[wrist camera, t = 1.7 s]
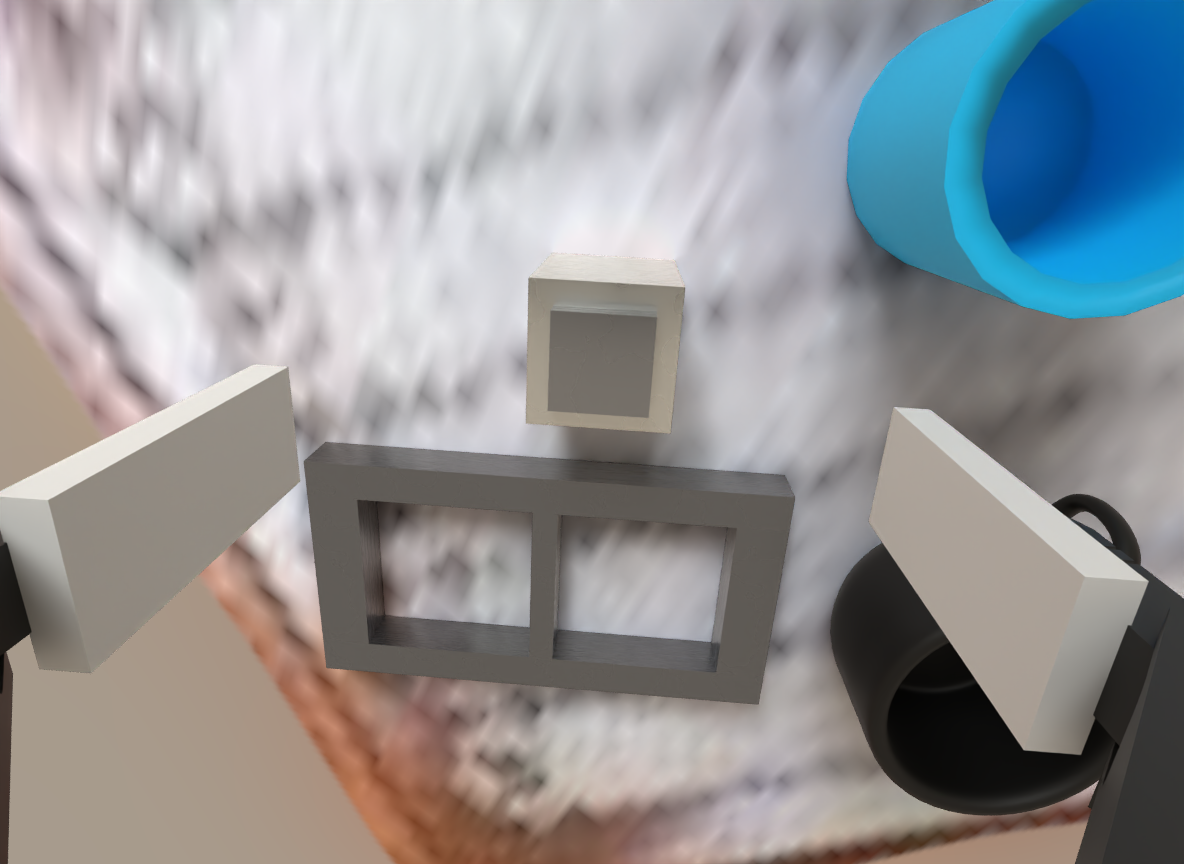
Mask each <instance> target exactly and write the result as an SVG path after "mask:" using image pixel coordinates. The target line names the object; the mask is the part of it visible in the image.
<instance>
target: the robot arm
mask: <svg viewBox="0 0 1184 864" xmlns="http://www.w3.org/2000/svg"><path fill="white" fill-rule="evenodd" d="M299 482H300V474H299V465H298V455H297V446H296V436H295V427H294V417H293V408H292V398H291V389H290V379H289V370H288V367H284V366H269V365H252V366H250V367H248V368H246V369H244V370H242V371H240V372H238V373H236V374H234V375H232V376H230V377H228V378H226V379H224V380H222V381H220V382H218V383H216V384H214V385H212V386H210V387H208V388H206V389H204V390H202V391H200V392H198V393H196V394H194V395H192V396H190V397H188V398H186V399H184V400H182V401H180V402H178V403H176V404H174V405H172V406H170V407H168V408H166V409H164V410H162V411H160V412H158V413H156V414H154V415H152V416H150V417H148V418H146V419H144V420H142V421H140V422H138V423H136V424H134V425H132V426H130V427H128V428H126V429H124V430H122V431H120V432H118V433H116V434H114V435H112V436H110V437H108V438H106V439H104V440H102V441H100V442H98V443H96V444H94V445H92V446H90V447H88V448H86V449H84V450H82V451H80V452H78V453H76V454H74V455H72V456H70V457H68V458H66V459H64V460H62V461H60V462H58V463H56V464H54V465H52V466H50V467H48V468H46V469H44V470H42V471H40V472H38V473H36V474H34V475H32V476H30V477H28V478H26V479H24V480H22V481H20V482H18V483H16V484H14V485H12V486H10V487H8V488H6V489H4V490H2V491H0V864H8V837H9V799H10V796H9V795H10V763H11V725H12V689H13V673H12V669H11V666H10V663H9V659H8V656H7V653H6V651H7V650H9V649H10V648H12V647H13V646H14V645H16V644H17V643H18V642H19V641H21V640H22V639H23V638H25V637H26V636H27V635H29V634H30V637H31V641H32V645H33V648H34V652H35V655H36V659H37V662H38V666H39V669H44V670H56V671H69V672H80V673H92V672H93V671H94V670H95V669H96V668H98V667H99V666H100V665H101V664H102V663H103V662H104V661H105V660H106V659H107V658H109V657H110V655H112V654H113V653H114V652H115V651H116V650H117V649H118V648H119V647H120V646H122V645H123V644H124V643H125V642H126V641H127V640H128V639H129V638H130V637H131V636H132V635H133V634H135V633H136V632H137V631H138V630H139V629H140V628H141V627H142V626H143V625H144V624H145V623H147V622H148V621H149V620H150V619H151V618H152V617H153V616H154V615H155V614H156V613H157V612H158V611H160V610H161V609H162V608H163V607H164V606H165V605H166V604H167V603H168V602H169V601H170V600H172V599H173V598H174V597H175V596H176V595H177V594H178V593H179V592H180V591H181V590H182V589H183V588H185V587H186V586H187V585H188V584H189V583H190V582H191V581H192V580H193V579H194V578H195V577H197V576H198V575H199V574H200V573H201V572H202V571H203V570H204V569H205V568H206V567H207V566H209V565H210V564H211V563H212V562H213V561H214V560H215V559H216V558H217V557H218V556H219V555H221V554H222V553H223V552H224V551H225V550H226V549H227V548H228V547H229V546H230V545H231V544H232V543H234V542H235V541H236V540H237V539H238V538H239V537H240V536H241V535H242V534H243V533H244V532H246V531H247V530H248V529H249V528H250V527H251V526H252V525H253V524H254V523H255V522H256V521H257V520H259V519H260V518H261V517H262V516H263V515H264V514H265V513H266V512H267V511H268V510H269V509H271V508H272V507H273V506H274V505H275V504H276V503H277V502H278V501H279V500H280V499H281V498H282V497H284V496H285V495H286V494H287V493H288V492H289V491H290V490H291V489H292V488H293V487H294V486H296V485H297V484H298V483H299ZM869 524H870V525H871V526H872V528H873V529H874V531H875V532H876V534H877V535H878V537H879V538H880V540H881V541H882V543H883V544H884V546H885V547H886V548H887V550H888V551H889V553H890V554H891V556H892V557H893V559H894V560H895V562H896V563H897V565H898V566H899V568H900V569H901V571H902V572H903V573H904V575H905V576H906V578H907V579H908V581H909V582H910V584H911V585H912V587H913V588H914V590H915V591H916V593H917V594H918V596H919V597H920V598H921V600H922V601H923V603H924V604H925V606H926V607H927V609H928V610H929V612H930V613H931V615H932V616H933V618H934V619H935V620H936V622H937V623H938V625H939V626H940V628H941V629H942V631H943V632H944V634H945V635H946V637H947V638H948V640H949V641H950V643H951V644H952V645H953V647H954V648H955V650H956V651H957V653H958V654H959V656H960V657H961V659H962V660H963V662H964V663H965V665H966V666H967V668H968V669H969V670H970V672H971V673H972V675H973V676H974V678H975V679H976V681H977V682H978V684H979V685H980V687H981V688H982V690H983V691H984V692H985V694H986V695H987V697H988V698H989V700H990V701H991V703H992V704H993V706H994V707H995V709H996V710H997V712H998V713H999V715H1000V716H1001V717H1002V719H1003V720H1004V722H1005V723H1006V725H1007V726H1008V728H1009V729H1010V731H1011V732H1012V734H1013V735H1014V737H1015V738H1016V740H1017V741H1018V742H1019V744H1020V745H1021V747H1022V748H1023V750H1028V751H1040V752H1052V753H1064V754H1076V755H1081V753H1082V751H1083V748H1084V746H1085V743H1086V740H1087V738H1088V735H1089V733H1090V730H1091V728H1092V725H1093V722H1094V720H1095V718H1096V719H1097V720H1098V721H1099V723H1100V724H1101V725H1102V726H1103V727H1104V729H1105V730H1106V731H1107V732H1108V733H1109V734H1110V736H1111V737H1112V738H1113V739H1114V740H1115V742H1114V745H1113V747H1112V750H1111V752H1110V755H1109V757H1108V760H1107V762H1106V764H1105V767H1104V769H1103V772H1102V774H1101V777H1100V779H1099V782H1098V784H1097V786H1096V789H1095V791H1094V794H1093V796H1092V799H1091V801H1090V803H1089V806H1088V807H1089V808H1091V809H1092V810H1091V813H1090V817H1089V820H1088V823H1087V826H1086V830H1085V833H1084V837H1083V839H1082V843H1081V846H1080V849H1079V852H1078V856H1077V859H1076V862H1075V864H1184V599H1183V598H1182V597H1181V596H1180V595H1178V594H1177V593H1176V592H1174V591H1173V590H1172V589H1170V588H1169V587H1168V586H1166V585H1165V584H1164V583H1163V582H1161V581H1160V580H1159V579H1157V578H1156V577H1155V576H1153V575H1152V574H1151V573H1150V572H1148V571H1147V570H1146V569H1144V568H1143V567H1142V566H1140V565H1139V564H1134V560H1133V559H1131V558H1130V557H1129V556H1127V555H1126V554H1125V553H1124V552H1122V551H1121V550H1116V546H1114V545H1113V544H1112V543H1110V542H1109V541H1108V540H1107V539H1105V538H1104V537H1103V536H1101V535H1100V534H1099V533H1097V532H1096V531H1095V530H1093V529H1091V528H1089V527H1087V526H1085V525H1083V524H1081V523H1079V522H1077V521H1075V520H1073V519H1071V518H1069V517H1067V516H1065V515H1064V514H1062V513H1061V512H1060V511H1058V510H1057V509H1056V508H1055V507H1053V506H1052V505H1051V504H1050V503H1048V502H1047V501H1046V500H1044V499H1043V498H1042V497H1041V496H1039V495H1038V494H1037V493H1036V492H1034V491H1033V490H1032V489H1030V488H1029V487H1028V486H1027V485H1025V484H1024V483H1023V482H1022V481H1020V480H1019V479H1018V478H1016V477H1015V476H1014V475H1013V474H1011V473H1010V472H1009V471H1008V470H1006V469H1005V468H1004V467H1003V466H1001V465H1000V464H999V463H997V462H996V461H995V460H994V459H992V458H991V457H990V456H989V455H987V454H986V453H985V452H983V451H982V450H981V449H980V448H978V447H977V446H976V445H975V444H973V443H972V442H971V441H969V440H968V439H967V438H966V437H964V436H963V435H962V434H961V433H959V432H958V431H957V430H955V429H954V428H953V427H952V426H950V425H949V424H948V423H947V422H945V421H944V420H943V419H942V418H940V417H939V416H938V415H936V414H935V413H934V412H933V411H931V410H930V409H916V408H901V407H893V412H892V417H891V421H890V426H889V430H888V435H887V440H886V444H885V449H884V453H883V458H882V463H881V467H880V472H879V476H878V481H877V486H876V490H875V495H874V499H873V504H872V509H871V513H870V518H869Z"/></svg>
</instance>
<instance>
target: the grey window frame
mask: <svg viewBox="0 0 1184 864" xmlns="http://www.w3.org/2000/svg"><path fill="white" fill-rule="evenodd" d="M304 468H305V477H306V486H307V495H308V504H309V513H310V523H311V532H312V541H313V550H314V559H315V568H316V577H317V586H318V595H319V604H320V613H321V622H322V631H323V640H324V649H325V658H326V667H327V668H333V669H345V670H356V671H368V672H380V673H392V674H404V675H416V676H427V677H439V678H451V679H463V680H475V681H487V682H498V683H510V684H522V685H534V686H546V687H558V688H569V689H581V690H593V691H605V692H617V693H628V694H640V695H652V696H664V697H676V698H688V699H699V700H711V701H723V702H735V703H747V704H759V698H760V693H761V687H762V682H763V676H764V670H765V665H766V659H767V653H768V648H769V642H770V637H771V631H772V625H773V620H774V614H775V608H776V603H777V597H778V592H779V586H780V580H781V575H782V569H783V563H784V558H785V552H786V547H787V541H788V535H789V530H790V524H791V518H792V513H793V507H794V502H795V496H794V494H793V492H792V490H791V487H790V485H789V483H788V481H787V479H786V477H785V475H774V474H761V473H747V472H733V471H719V470H705V469H691V468H677V467H663V466H649V465H635V464H622V463H608V462H594V461H580V460H566V459H552V458H538V457H524V456H510V455H497V454H483V453H469V452H455V451H441V450H427V449H413V448H399V447H385V446H372V445H358V444H344V443H330V442H325V443H324V444H323V445H322V446H320V447H319V448H318V449H317V450H316V451H315V452H314V453H313V454H312V455H310V456H309V457H308V458H307V459H306V460H305V461H304ZM377 501H382V502H395V503H408V504H422V505H435V506H448V507H462V508H475V509H488V510H502V511H515V512H528V513H532V556H531V600H530V628H528V627H516V626H503V625H491V624H479V623H466V622H454V621H442V620H430V619H417V618H405V617H393V616H384V601H383V587H382V573H381V558H380V544H379V530H378V515H377ZM562 515H568V516H582V517H595V518H608V519H622V520H635V521H648V522H662V523H675V524H688V525H701V526H715V527H727V534H726V541H725V548H724V556H723V563H722V570H721V577H720V584H719V591H718V598H717V606H716V613H715V620H714V627H713V634H712V641H711V642H700V641H688V640H675V639H663V638H651V637H638V636H626V635H614V634H602V633H589V632H577V631H565V630H557V626H558V601H559V577H560V552H561V527H562Z"/></svg>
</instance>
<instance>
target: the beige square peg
mask: <svg viewBox="0 0 1184 864" xmlns="http://www.w3.org/2000/svg"><path fill="white" fill-rule="evenodd" d="M684 294H685V285H684V283H683V280H682V278H681V275H680V273H679V270H678V267H677V265H676V262H675V260H667V259H651V258H634V257H618V256H601V255H585V254H568V253H551V254H550V256H549V257H548V258H547V259H546V260H545V261H544V262H543V263H542V264H541V265H540V266H539V267H538V268H537V269H536V270H535V271H534V272H533V273H532V274H531V275H530V277H529V283H528V340H527V396H526V423H527V424H542V425H556V426H570V427H584V428H599V429H613V430H627V431H641V432H655V433H670V434H671V424H672V414H673V404H674V394H675V384H676V374H677V364H678V354H679V344H680V334H681V324H682V314H683V304H684Z"/></svg>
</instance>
